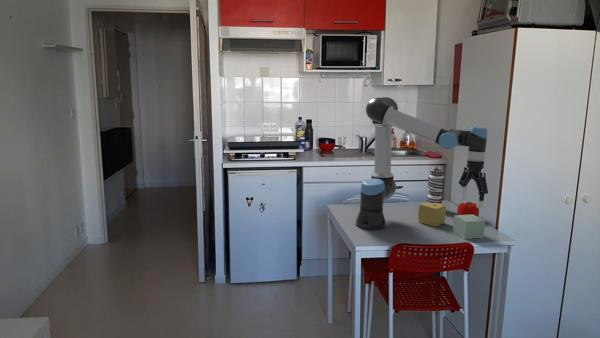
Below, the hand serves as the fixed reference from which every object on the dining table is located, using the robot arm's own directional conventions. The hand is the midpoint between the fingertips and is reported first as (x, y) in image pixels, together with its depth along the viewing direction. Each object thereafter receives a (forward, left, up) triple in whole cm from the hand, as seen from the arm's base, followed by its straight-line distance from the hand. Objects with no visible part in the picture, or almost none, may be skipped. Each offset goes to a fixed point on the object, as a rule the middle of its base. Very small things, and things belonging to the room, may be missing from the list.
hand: (470, 203), depth 217 cm
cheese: (-8, +21, -17) cm, 28 cm away
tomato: (+15, +24, -17) cm, 33 cm away
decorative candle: (+6, +44, -16) cm, 47 cm away
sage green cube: (0, 0, -16) cm, 16 cm away
